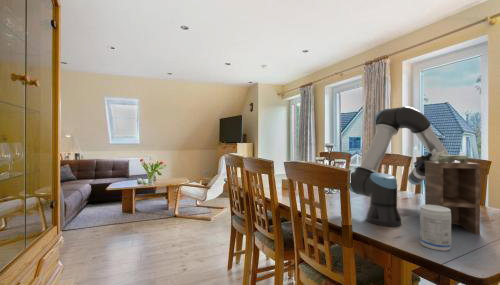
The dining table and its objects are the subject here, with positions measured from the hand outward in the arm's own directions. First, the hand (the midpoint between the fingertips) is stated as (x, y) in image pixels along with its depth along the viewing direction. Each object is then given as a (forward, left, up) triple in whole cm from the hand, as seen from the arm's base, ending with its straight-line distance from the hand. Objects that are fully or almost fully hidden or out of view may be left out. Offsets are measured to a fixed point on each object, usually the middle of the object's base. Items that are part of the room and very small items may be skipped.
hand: (440, 151), depth 122 cm
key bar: (0, -2, -5) cm, 5 cm away
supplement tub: (-16, -34, -35) cm, 51 cm away
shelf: (0, -9, -35) cm, 36 cm away
